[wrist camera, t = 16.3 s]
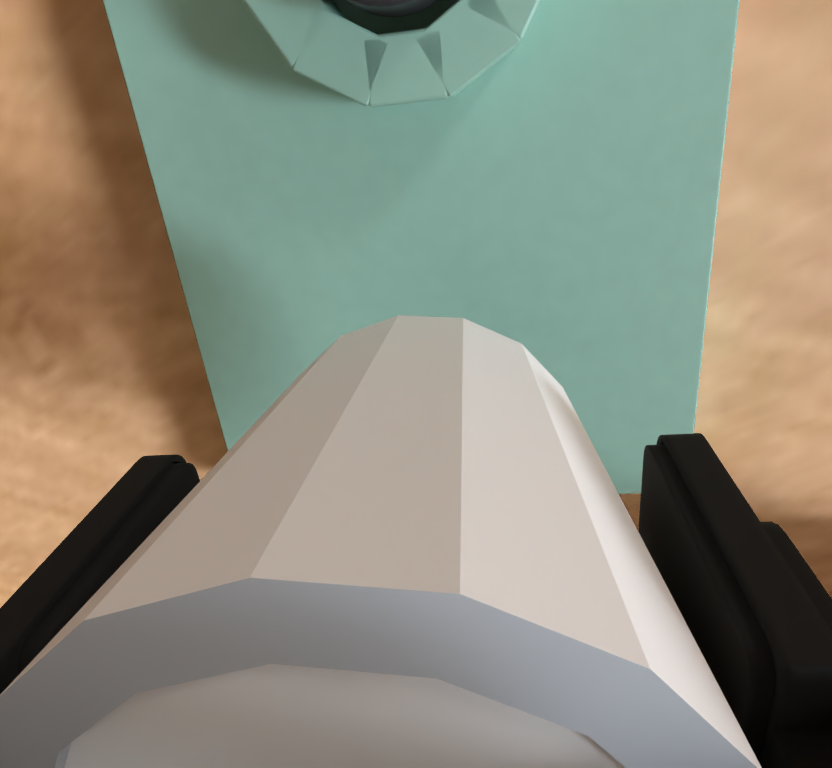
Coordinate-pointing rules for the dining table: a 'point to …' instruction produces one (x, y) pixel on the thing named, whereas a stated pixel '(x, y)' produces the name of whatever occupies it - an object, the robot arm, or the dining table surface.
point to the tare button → (392, 6)
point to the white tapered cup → (386, 592)
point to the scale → (443, 186)
